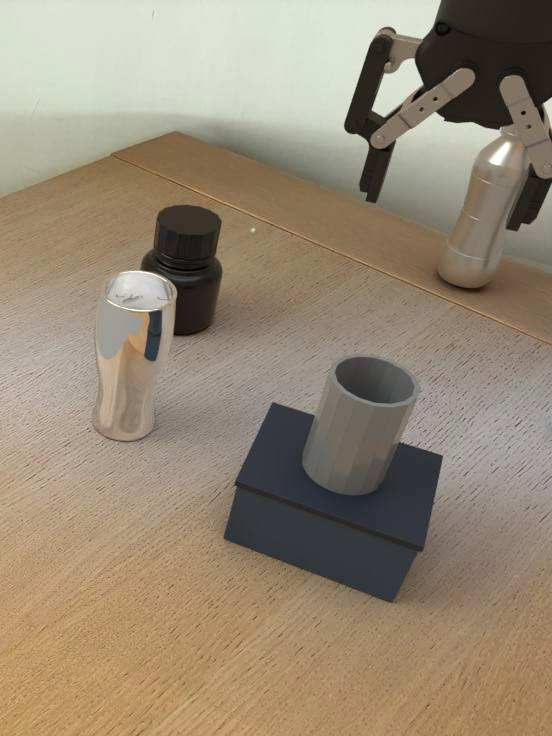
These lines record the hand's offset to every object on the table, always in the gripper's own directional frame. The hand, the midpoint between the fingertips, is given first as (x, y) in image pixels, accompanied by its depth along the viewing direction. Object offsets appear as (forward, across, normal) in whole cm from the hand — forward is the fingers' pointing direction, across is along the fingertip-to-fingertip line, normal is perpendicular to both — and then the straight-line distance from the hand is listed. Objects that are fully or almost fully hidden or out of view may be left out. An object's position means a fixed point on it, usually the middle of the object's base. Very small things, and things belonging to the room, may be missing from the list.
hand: (439, 211), depth 54 cm
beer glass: (+28, +20, -1) cm, 35 cm away
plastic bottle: (+29, -6, -45) cm, 54 cm away
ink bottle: (+28, +22, -21) cm, 42 cm away
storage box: (+28, +1, +3) cm, 28 cm away
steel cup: (+21, 0, +3) cm, 21 cm away
